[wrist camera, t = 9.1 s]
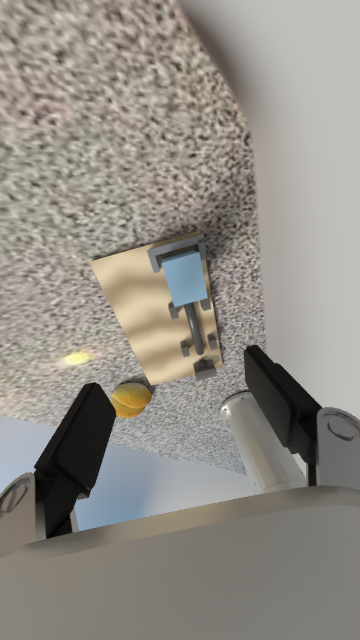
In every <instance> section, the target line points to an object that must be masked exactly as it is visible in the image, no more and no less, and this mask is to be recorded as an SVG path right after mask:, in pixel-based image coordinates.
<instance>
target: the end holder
mask: <svg viewBox="0 0 360 640" xmlns="http://www.w3.org/2000/svg"><path fill="white" fill-rule="evenodd" d="M191 245H194V247H195V251H196V252H199V253H200V258H201V260H204V259H207V254H206V248H205V242H204V235H199V236H196V237H192V238H189V239H185V240H182V241H178V242H175V243H171V244H168V245H164V246H161V247H157V248H154V249H150V250H147V253H148V256H149V259H150V262H151V266H152V269H153V272H154V273H158V272H160V265H159V262H158V259H157V255H159V254H163V253H166V252H170V251H174V250H177V249H181V248H184V247H188V246H191Z"/></svg>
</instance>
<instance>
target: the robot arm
mask: <svg viewBox="0 0 360 640" xmlns="http://www.w3.org/2000/svg"><path fill="white" fill-rule="evenodd" d="M244 364H245V381H246V384H247V386H248V388H249V390H250V392H243V393H239V394H236V395H234V396H232V397H230V398H228V399H227V400H226V401H225V402H224V403H223V404H222V405H221V407H220V410H219V414H220V417H221V419H222V421H223V422H225V423H227V424H229V425H230V427H231V430H232V433H233V436H234V439H235V441H236V444H237V447H238V450H239V452H240V455H241V458H242V461H243V463H244V466H245V469H246V472H247V474H248V477H249V480H250V482H251V485H252V488H253V491H254V494H255V495H253V496H249V497H244V498H238V499H233V500H229V501H224V502H218V503H213V504H209V505H204V506H199V507H194V508H189V509H184V510H179V511H175V512H170V513H165V514H160V515H155V516H150V517H145V518H140V519H136V520H131V521H126V522H121V523H117V524H112V525H107V526H102V527H98V528H93V529H89V530H84V531H79V530H78V524H77V519H76V513H75V508H74V505H75V502H76V500H77V499H84V498H88V497H89V495H90V492H91V489H92V488H93V487H94V485H95V483H96V480H97V476H98V473H99V470H100V467H101V463H102V460H103V457H104V454H105V450H106V447H107V444H108V441H109V437H110V434H111V431H112V428H113V424H114V421H115V418H116V409H115V408H114V406H113V405H112V403H111V402H110V400H109V398H108V397H107V395H106V394H105V392H104V391H103V389H102V388H101V386H100V385H99V384H97V383H96V382H93V383H89V384H85V385H84V386H83V388H82V389H81V391H80V392H79V394H78V396H77V397H76V399H75V401H74V402H73V404H72V405H71V407H70V409H69V410H68V412H67V414H66V415H65V417H64V418H63V420H62V422H61V423H60V425H59V427H58V428H57V430H56V432H55V433H54V435H53V436H52V438H51V440H50V441H49V443H48V445H47V446H46V448H45V449H44V451H43V453H42V454H41V456H40V458H39V459H38V461H37V462H36V464H35V466H34V468H35V469H36V471H35V472H34V474H33V473H31V472H30V473H25V474H23V475H21V476H20V477H18V478H16V479H15V480H14V481H13V482H12V483H10V484H9V485H8V486H7V487H6V488H5V489H4V491H3V492H2V493H1V494H0V640H360V420H359V419H357V418H356V417H355V416H353V415H351V414H350V413H348V412H345V411H343V410H341V409H337V408H332V407H328V408H327V407H325V408H322V407H321V406H320V405H319V404H318V403H317V402H316V401H315V400H314V399H313V398H312V397H311V396H310V395H309V394H308V393H307V392H306V391H305V390H304V389H303V388H302V386H301V385H300V384H299V383H298V382H297V381H296V380H295V379H293V377H292V376H291V375H290V374H289V373H288V372H287V371H286V370H285V369H284V368H283V367H282V366H281V365H280V364H278V363H274V362H273V361H272V360H271V359H270V358H269V357H268V356H267V355H266V354H265V353H264V352H263V351H262V350H261V349H260V348H259V346H257V345H252V346H248V347H246V350H244ZM296 453H299V455H300V456H301V458H302V459H303V460H304V462H306V478H305V476H304V474H303V472H302V471H301V469H300V468H299V466H298V464H297V463H296V461H295V459H294V458H293V456H292V454H296Z"/></svg>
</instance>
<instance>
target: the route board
mask: <svg viewBox="0 0 360 640" xmlns="http://www.w3.org/2000/svg"><path fill="white" fill-rule="evenodd" d="M199 235H201V230H199V231H195V232H192V233H188V234H185V235H181V236H178V237H174V238H171V239H167V240H164V241H160V242H157V243H153V244H150V245H146V246H143V247H139V248H136V249H132V250H129V251H125V252H122V253H118V254H115V255H111V256H108V257H104V258H101V259H97V260H94V261H90V262H89V263H90V265H91V267H92V269H93V271H94V273H95V275H96V277H97V279H98V281H99V283H100V285H101V287H102V289H103V291H104V293H105V295H106V297H107V299H108V301H109V303H110V305H111V307H112V309H113V311H114V313H115V315H116V317H117V319H118V321H119V323H120V325H121V327H122V329H123V331H124V333H125V335H126V337H127V339H128V341H129V343H130V345H131V347H132V349H133V351H134V353H135V355H136V357H137V359H138V361H139V363H140V365H141V367H142V369H143V371H144V373H145V375H146V377H147V379H148V381H149V383H150V385H155V384H159V383H163V382H167V381H171V380H175V379H178V378H182V377H186V376H190V375H194V374H195V375H196V378H197V381H198V380H201V379H207V378H209V377H213V376H217V373H216V369H217V368H221V367H223V365H222V359H221V352H220V346H219V340H218V334H217V328H216V321H215V315H214V309H213V303H212V297H211V290H210V284H209V278H208V272H207V266H206V260H205V259H204V260H201V264H202V269H203V275H204V281H205V286H206V292H207V297H208V298H206V299H202V300H198V301H195V302H193V304H194V308H195V313H196V317H197V321H198V326H199V330H200V334H201V339H202V343H203V347H204V354H203V355H198V354H197V353H196V350H195V346H194V343H193V339H192V335H191V331H190V328H189V324H188V320H187V316H186V313H185V309H184V305H180V306H177V307H174V304H173V300H172V297H171V294H170V290H169V287H168V284H167V280H166V277H165V274H164V270H163V267H162V258H164V257H167V256H170V255H174V254H177V253H181V252H184V251H188V250H191V251H195V247H194V245H191V246H188V247H184V248H181V249H177V250H174V251H170V252H166V253H163V254H159V255H157V259H158V262H159V265H160V272H158V273H154V272H153V269H152V266H151V262H150V259H149V256H148V253H147V250H150V249H154V248H157V247H161V246H164V245H168V244H171V243H175V242H178V241H182V240H185V239H189V238H192V237H196V236H199Z"/></svg>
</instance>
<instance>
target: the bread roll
mask: <svg viewBox="0 0 360 640" xmlns="http://www.w3.org/2000/svg"><path fill="white" fill-rule="evenodd" d="M151 398H152V395H151V392H150V391H149V390H148V389H147V387H146V386H145V385H143V384H141V383H135V382H131V383H126V384H122V385H120V386H118V387H117V388H116V389H115V390H114V392H113V394H112V396H111V399H110V402H111V403H112V405H113V406H114V408H115V409H116V415H118V416H120V417H123V418H131V417H135V416H137V415H139V414H140V413H142V411H143V410H144V408H145V406H146V405H147V404H149V402H150V401H151Z"/></svg>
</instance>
